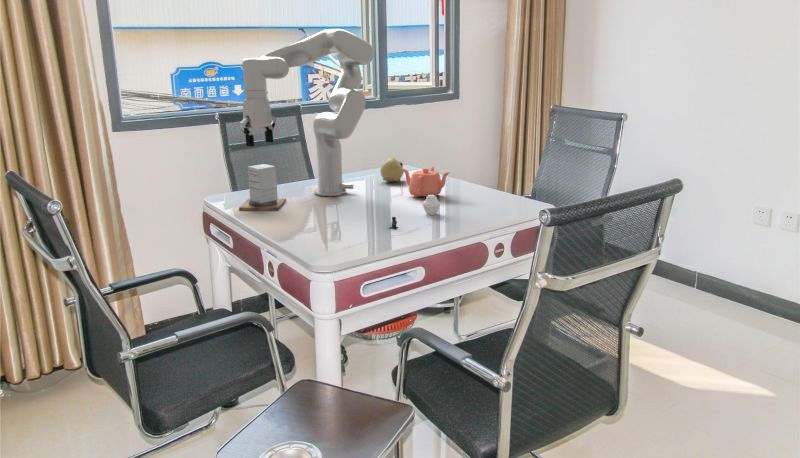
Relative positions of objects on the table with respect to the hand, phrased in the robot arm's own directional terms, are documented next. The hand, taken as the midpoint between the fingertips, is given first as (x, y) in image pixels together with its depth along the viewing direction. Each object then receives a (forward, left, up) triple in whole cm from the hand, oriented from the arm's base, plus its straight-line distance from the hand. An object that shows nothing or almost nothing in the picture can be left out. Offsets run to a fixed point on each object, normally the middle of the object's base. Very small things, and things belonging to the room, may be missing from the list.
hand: (260, 144), depth 221 cm
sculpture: (-48, +29, -23) cm, 60 cm away
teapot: (-60, -17, -23) cm, 66 cm away
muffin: (-61, +11, -23) cm, 66 cm away
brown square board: (0, 0, -23) cm, 23 cm away
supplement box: (0, 0, -21) cm, 21 cm away
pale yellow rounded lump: (-46, -43, -23) cm, 67 cm away
